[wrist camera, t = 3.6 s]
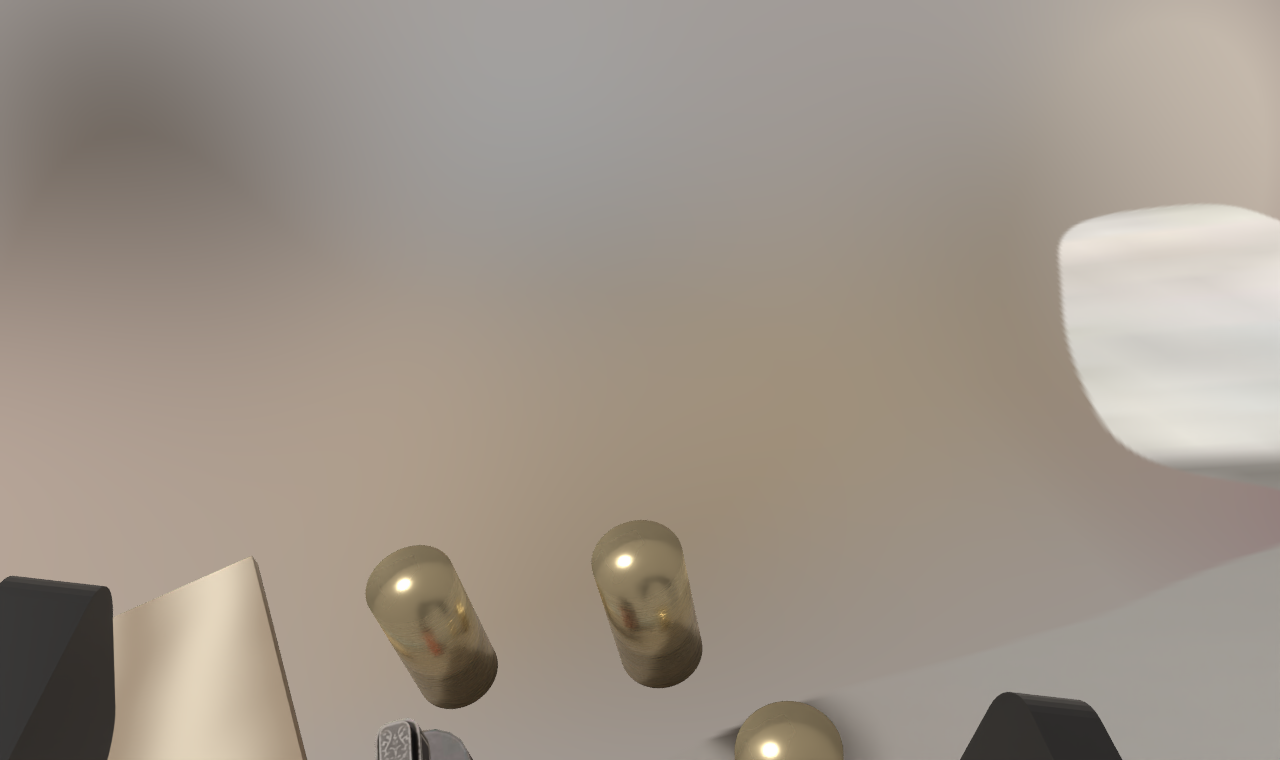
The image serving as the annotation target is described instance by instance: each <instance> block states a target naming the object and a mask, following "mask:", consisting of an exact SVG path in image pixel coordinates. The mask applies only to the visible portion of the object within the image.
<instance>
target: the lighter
mask: <svg viewBox="0 0 1280 760" xmlns="http://www.w3.org/2000/svg"><path fill="white" fill-rule="evenodd" d="M375 756H376V757H375V759H376V760H473V759H472V757H471V756H470V754H469V752H468V751H467V749H466V748H465V746H464V744H463V742H462V741H461V740H460V739H459V738H458V737H456V736H454V735H453V734H452V733H450V732H446V731H441V730H437V729H434V730H425V731H422V730H421V729H420V727H419V725H418V724H417V723H416V722H415V720H413V719H409V718H406V719H399V720H395V721H392V722H389V723H387V724H385V725H383V726H382V727H381V728H380V729H379V731H378V733H377V734H376V740H375Z"/></svg>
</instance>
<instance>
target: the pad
mask: <svg viewBox="0 0 1280 760" xmlns="http://www.w3.org/2000/svg"><path fill="white" fill-rule="evenodd" d="M113 638H114V672H115V706H116V708H115V724H114V732H113V737H112V743H111V747H110V752H109V756H108V760H307V758H306V754H305V750H304V746H303V742H302V738H301V734H300V730H299V726H298V722H297V718H296V715H295V710H294V706H293V702H292V699H291V694H290V690H289V687H288V682H287V679H286V675H285V670H284V666H283V662H282V659H281V654H280V650H279V646H278V642H277V638H276V634H275V631H274V627H273V623H272V619H271V615H270V611H269V607H268V603H267V599H266V595H265V591H264V587H263V583H262V579H261V575H260V571H259V567H258V564H257V562H256V561H255V560H254V558H253V556H250V557H248V558H245V559H243V560H241V561H239V562H237V563H234V564H232V565H230V566H228V567H225V568H223V569H221V570H219V571H216V572H214V573H212V574H210V575H207V576H205V577H203V578H201V579H198V580H196V581H194V582H192V583H189V584H187V585H185V586H183V587H180V588H178V589H176V590H174V591H171V592H169V593H167V594H165V595H162V596H160V597H158V598H156V599H153V600H151V601H149V602H147V603H144V604H142V605H140V606H138V607H135V608H133V609H131V610H129V611H126V612H124V613H122V614H120V615H118V616H115V617H113Z"/></svg>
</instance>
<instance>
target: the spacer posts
mask: <svg viewBox="0 0 1280 760" xmlns="http://www.w3.org/2000/svg"><path fill="white" fill-rule="evenodd" d="M591 564H592V570H593V574H594V577H595V580H596V583H597V587H598V589H599V593H600V596H601V599H602V602H603V605H604V608H605V611H606V615H607V617H608V620H609V623H610V626H611V630H612V633H613V636H614V639H615V642H616V645H617V648H618V651H619V654H620V658H621V661H622V664H623V666H624V669H625V670H626V672H627V673H628V675H629V676H630V677H631V678H633V680H635V681H636V682H638V683H640V684H642V685H644V686H647V687H652V688H666V687H670V686H674V685H676V684H679V683H681V682H682V681H684V680H685V679H687V678H688V677H689V676H690V675H691V674H692V673H693V672H694V671H695V669H696V668H697V666H698V664H699V662H700V659H701V656H702V641H701V637H700V632H699V627H698V622H697V618H696V613H695V608H694V603H693V599H692V594H691V589H690V584H689V580H688V575H687V570H686V565H685V561H684V556H683V551H682V547H681V544H680V542H679V540H678V538H677V536H676V535H675V534H674V533H673V532H672V531H671V530H670V529H669V528H667V527H665V526H664V525H662V524H659V523H657V522H653V521H647V520H637V521H630V522H626V523H623V524H621V525H618V526H616V527H614V528H613V529H611V530H610V531H608V532H607V533H606V534H605V535H604V536H603V537H602V538H601V539H600V541H599V542H598V544H597V545H596V547H595V549H594V552H593V555H592V563H591ZM366 601H367V604H368V606H369V608H370V610H371V611H372V613H373V615H374V616H375V618H376V619H377V621H378V623H379V624H380V626H381V628H382V629H383V631H384V632H385V634H386V636H387V637H388V639H389V641H390V642H391V644H392V645H393V647H394V649H395V650H396V652H397V653H398V655H399V657H400V658H401V660H402V662H403V663H404V665H405V667H406V668H407V670H408V671H409V673H410V674H411V676H412V678H413V679H414V681H415V683H416V684H417V686H418V688H419V689H420V691H421V692H422V694H423V695H424V697H425V698H426V699H427V700H428V701H429V702H430V703H432V704H433V705H435V706H437V707H440V708H445V709H456V708H461V707H465V706H467V705H470V704H472V703H474V702H475V701H477V700H478V699H480V698H481V697H482V696H483V695H484V694H485V693H486V692H487V691H488V690H489V688H490V687H491V685H492V684H493V682H494V679H495V677H496V674H497V668H498V661H497V656H496V653H495V651H494V650H493V647H492V645H491V643H490V641H489V639H488V637H487V635H486V633H485V631H484V629H483V627H482V625H481V622H480V620H479V618H478V616H477V614H476V612H475V610H474V608H473V606H472V604H471V602H470V600H469V598H468V596H467V594H466V592H465V590H464V587H463V585H462V583H461V581H460V579H459V577H458V575H457V573H456V571H455V569H454V567H453V565H452V563H451V561H450V559H449V558H448V557H447V556H446V555H445V554H444V553H443V552H442V551H440V550H439V549H436V548H434V547H431V546H425V545H417V546H410V547H406V548H403V549H400V550H397V551H396V552H394V553H392V554H390V555H389V556H387V557H386V558H385V559H383V560H382V561H381V562H380V563H379V564H378V565H377V566H376V568H375V569H374V571H373V572H372V573H371V575H370V577H369V579H368V582H367V586H366ZM735 760H843V745H842V741H841V738H840V735H839V733H838V731H837V729H836V727H835V726H834V725H833V723H832V722H831V721H830V720H829V719H828V717H827V716H825V715H824V714H823V713H822V712H820V711H819V710H817V709H816V708H814V707H812V706H809V705H807V704H804V703H800V702H794V701H781V702H775V703H772V704H768V705H766V706H764V707H762V708H760V709H758V710H757V711H755V712H754V713H753V714H752V715H750V716H749V718H748V719H747V720H746V721H745V722H744V724H743V725H742V727H741V729H740V730H739V733H738V735H737V738H736V743H735Z"/></svg>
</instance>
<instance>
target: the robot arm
mask: <svg viewBox="0 0 1280 760" xmlns="http://www.w3.org/2000/svg"><path fill="white" fill-rule="evenodd" d="M115 708H116V706H115V672H114V638H113V605H112V596H111V592H110V590H109V589H108V588H107V587H105V586H96V585H88V584H79V583H70V582H61V581H53V580H44V579H35V578H27V577H18V576H9V577H7V578H6V579H4V580H3V581H2V582H1V583H0V760H108V756H109V752H110V747H111V743H112V737H113V732H114V724H115ZM960 760H1122V759H1121V757H1120V755H1119V753H1118V751H1117V749H1116V747H1115V746H1114V744H1113V742H1112V740H1111V738H1110V736H1109V735H1108V733H1107V731H1106V729H1105V727H1104V725H1103V723H1102V722H1101V720H1100V718H1099V716H1098V715H1097V713H1096V712H1095V711H1094V710H1093V708H1092V707H1091V706H1089V705H1088V704H1087V703H1085V702H1083V701H1081V700H1074V699H1065V698H1056V697H1048V696H1039V695H1030V694H1021V693H1012V692H1006V693H1002V694H1000V695H999V696H997V697H996V699H995V700H994V701H993V702H992V704H991V705H990V707H989V709H988V710H987V712H986V714H985V716H984V718H983V719H982V721H981V723H980V725H979V727H978V728H977V730H976V732H975V734H974V736H973V737H972V739H971V741H970V743H969V745H968V747H967V748H966V750H965V752H964V754H963V756H962V757H961V759H960Z"/></svg>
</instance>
